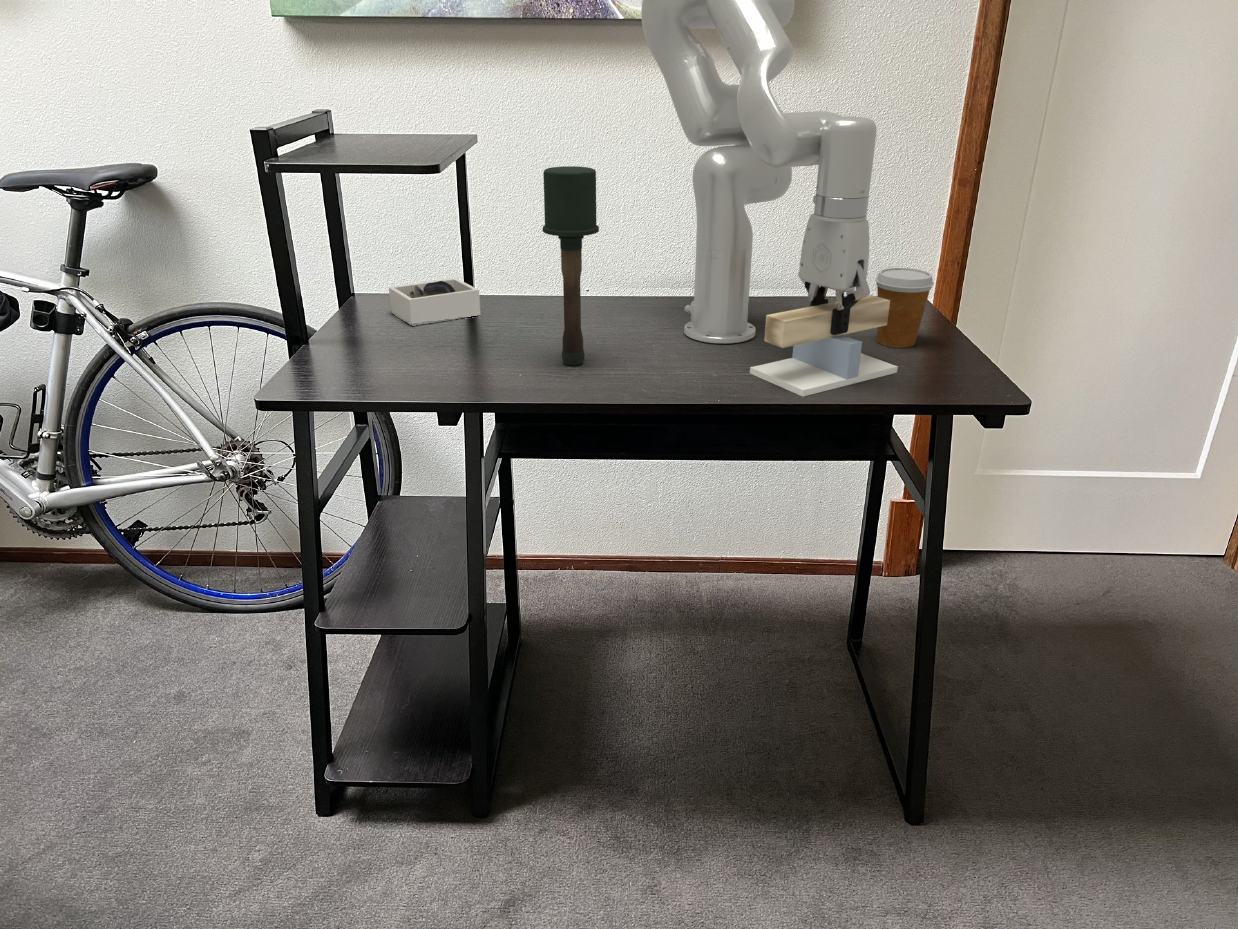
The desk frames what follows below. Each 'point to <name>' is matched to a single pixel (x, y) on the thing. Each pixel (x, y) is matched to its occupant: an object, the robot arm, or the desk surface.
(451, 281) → the beige open storage bin
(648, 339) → the desk surface
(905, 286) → the disposable coffee cup
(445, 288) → the eagle figurine
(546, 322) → the desk surface
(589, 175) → the potato masher grenade
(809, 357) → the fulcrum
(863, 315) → the rod
